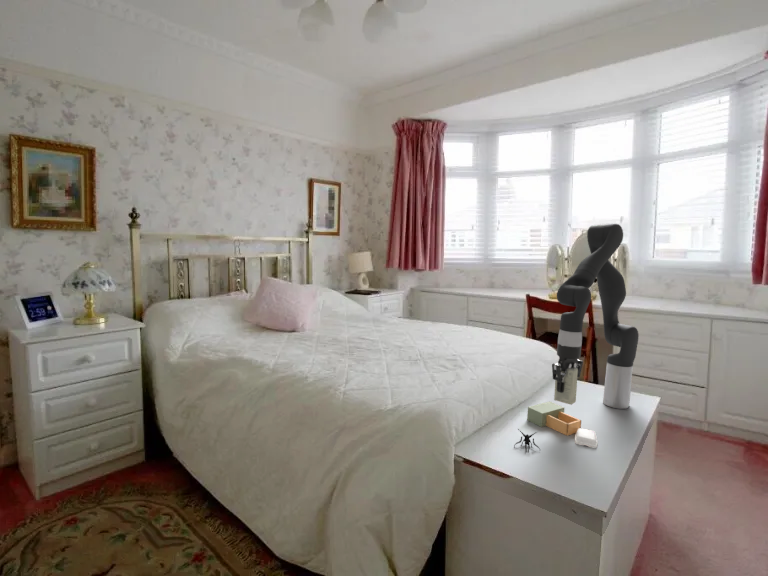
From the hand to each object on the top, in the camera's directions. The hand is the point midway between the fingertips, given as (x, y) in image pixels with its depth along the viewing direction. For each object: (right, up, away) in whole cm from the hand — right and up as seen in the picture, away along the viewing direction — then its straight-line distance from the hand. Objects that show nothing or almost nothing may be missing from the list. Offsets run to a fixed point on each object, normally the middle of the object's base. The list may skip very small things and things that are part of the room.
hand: (565, 390), depth 148 cm
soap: (+4, -15, -7) cm, 17 cm away
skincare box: (0, -4, 0) cm, 4 cm away
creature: (-18, -15, -14) cm, 27 cm away
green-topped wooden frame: (-2, -13, +4) cm, 14 cm away
